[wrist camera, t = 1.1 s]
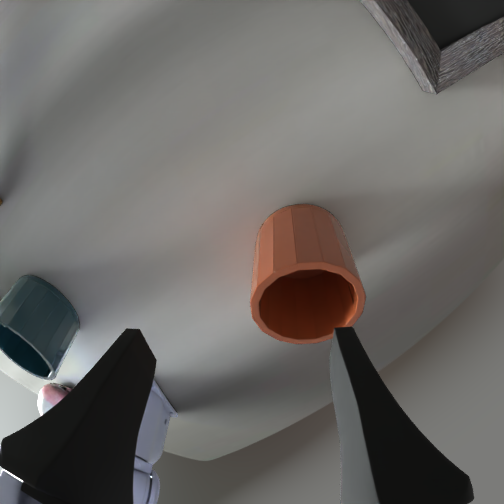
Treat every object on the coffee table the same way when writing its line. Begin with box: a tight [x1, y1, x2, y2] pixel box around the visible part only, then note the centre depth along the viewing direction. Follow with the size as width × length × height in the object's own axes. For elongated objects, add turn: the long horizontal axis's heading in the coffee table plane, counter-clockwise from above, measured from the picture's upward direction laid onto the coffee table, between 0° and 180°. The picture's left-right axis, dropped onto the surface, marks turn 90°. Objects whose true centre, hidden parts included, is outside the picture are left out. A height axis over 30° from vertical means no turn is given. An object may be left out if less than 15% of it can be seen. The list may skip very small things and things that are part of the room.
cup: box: [250, 204, 366, 344], centre depth 16 cm, size 5×5×6 cm
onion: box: [38, 383, 72, 416], centre depth 32 cm, size 8×8×7 cm
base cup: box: [0, 275, 80, 380], centre depth 22 cm, size 8×8×6 cm
